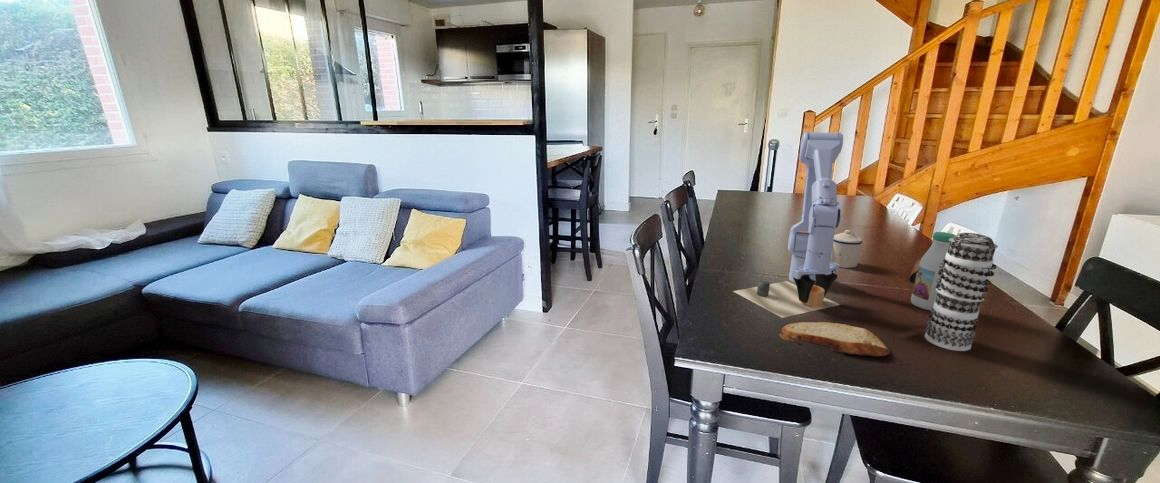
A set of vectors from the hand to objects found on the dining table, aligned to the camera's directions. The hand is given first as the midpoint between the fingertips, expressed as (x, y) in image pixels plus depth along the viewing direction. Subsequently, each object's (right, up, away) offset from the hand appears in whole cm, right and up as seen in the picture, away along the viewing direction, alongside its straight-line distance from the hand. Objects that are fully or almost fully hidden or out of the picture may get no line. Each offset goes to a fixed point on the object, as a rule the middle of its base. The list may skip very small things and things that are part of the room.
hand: (811, 299), depth 122 cm
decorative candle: (+22, -7, -18) cm, 29 cm away
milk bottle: (+31, -2, +1) cm, 31 cm away
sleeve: (0, -1, 0) cm, 1 cm away
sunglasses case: (+47, +4, +21) cm, 52 cm away
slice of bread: (-4, -8, -18) cm, 20 cm away
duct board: (-6, -1, +3) cm, 7 cm away
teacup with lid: (+25, +8, +32) cm, 42 cm away
